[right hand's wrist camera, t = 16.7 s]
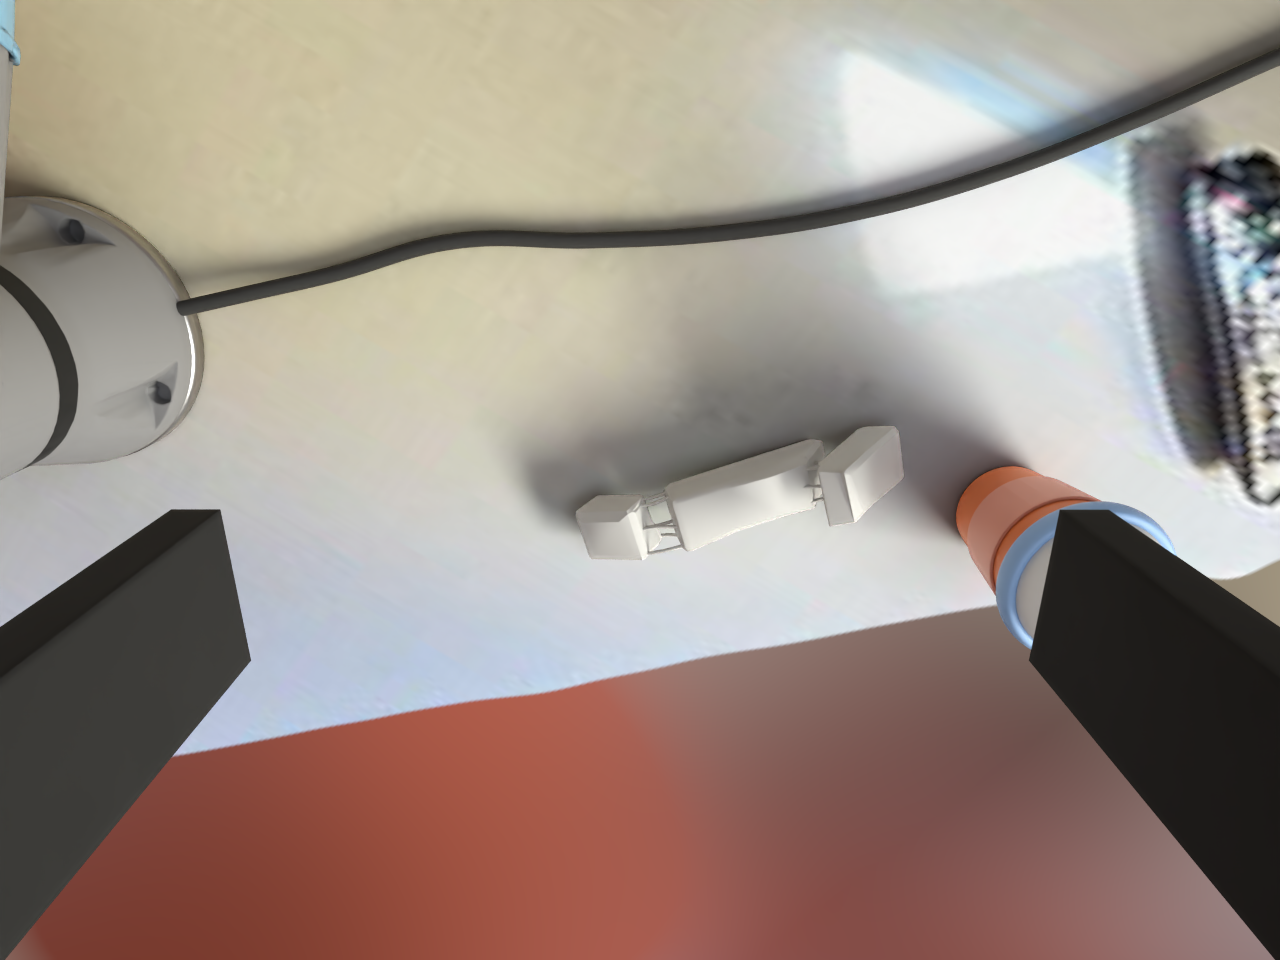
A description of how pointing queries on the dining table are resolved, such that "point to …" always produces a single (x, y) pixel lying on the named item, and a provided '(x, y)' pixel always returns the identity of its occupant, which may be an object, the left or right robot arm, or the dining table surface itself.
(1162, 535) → the cup with straw
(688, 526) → the clamp
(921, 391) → the dining table surface
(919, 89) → the dining table surface
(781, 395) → the dining table surface
